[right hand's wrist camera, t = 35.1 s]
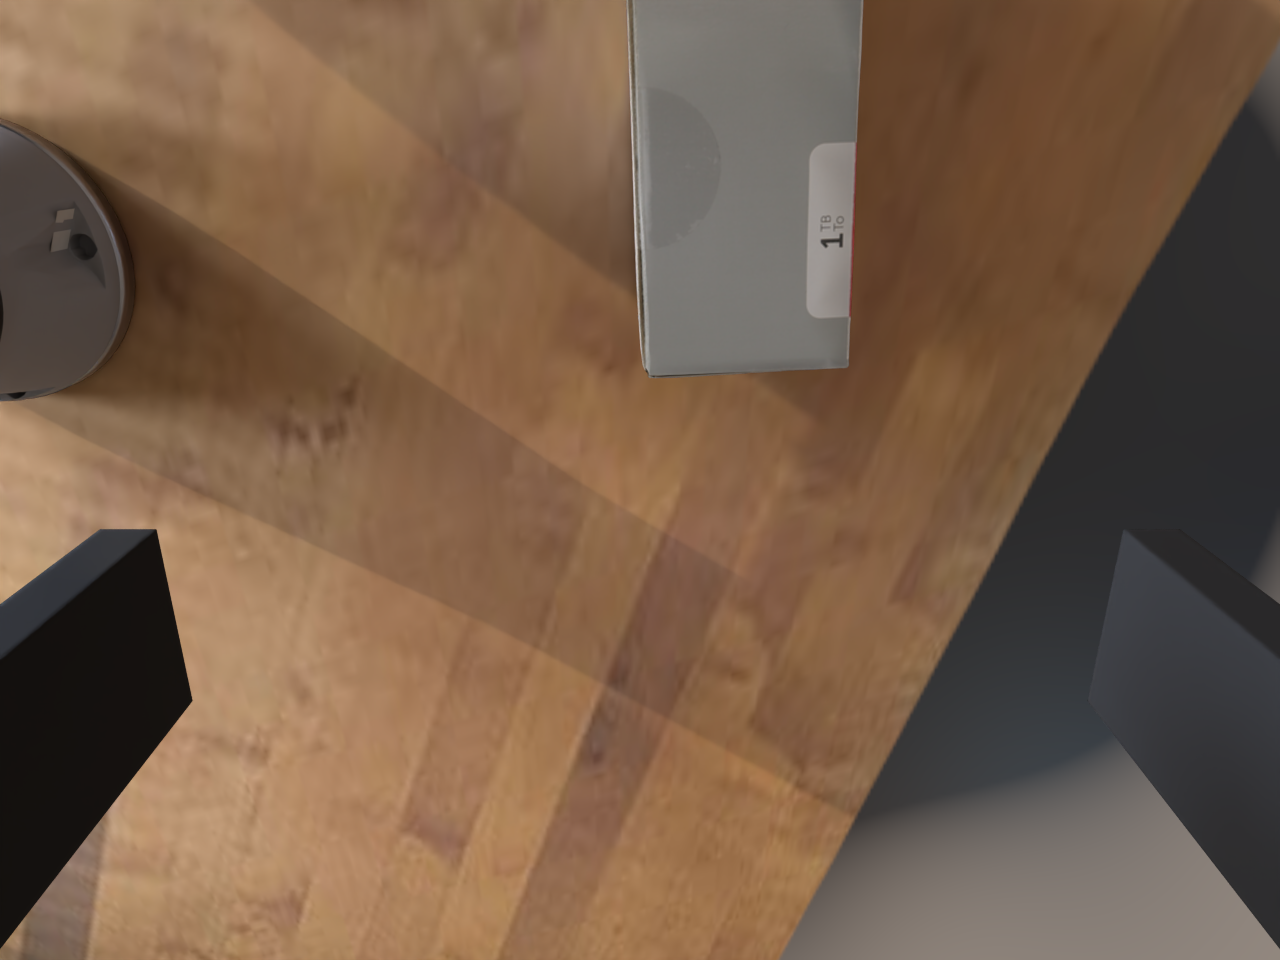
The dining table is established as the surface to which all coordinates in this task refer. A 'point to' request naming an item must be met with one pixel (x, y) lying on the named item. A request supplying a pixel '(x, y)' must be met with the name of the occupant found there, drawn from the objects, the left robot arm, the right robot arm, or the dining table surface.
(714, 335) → the hard drive box
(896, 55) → the dining table surface
